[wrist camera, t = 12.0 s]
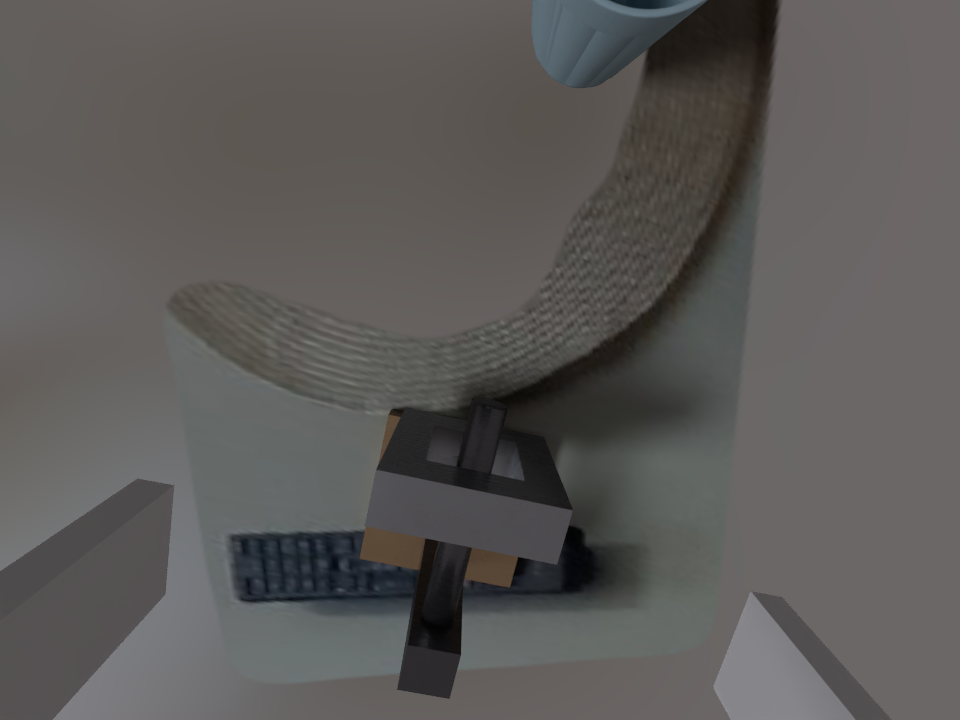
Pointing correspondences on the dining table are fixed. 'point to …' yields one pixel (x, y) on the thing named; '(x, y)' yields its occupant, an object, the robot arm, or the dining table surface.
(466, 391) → the dining table surface
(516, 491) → the link
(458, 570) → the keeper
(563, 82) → the cup
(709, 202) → the dining table surface
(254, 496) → the dining table surface
